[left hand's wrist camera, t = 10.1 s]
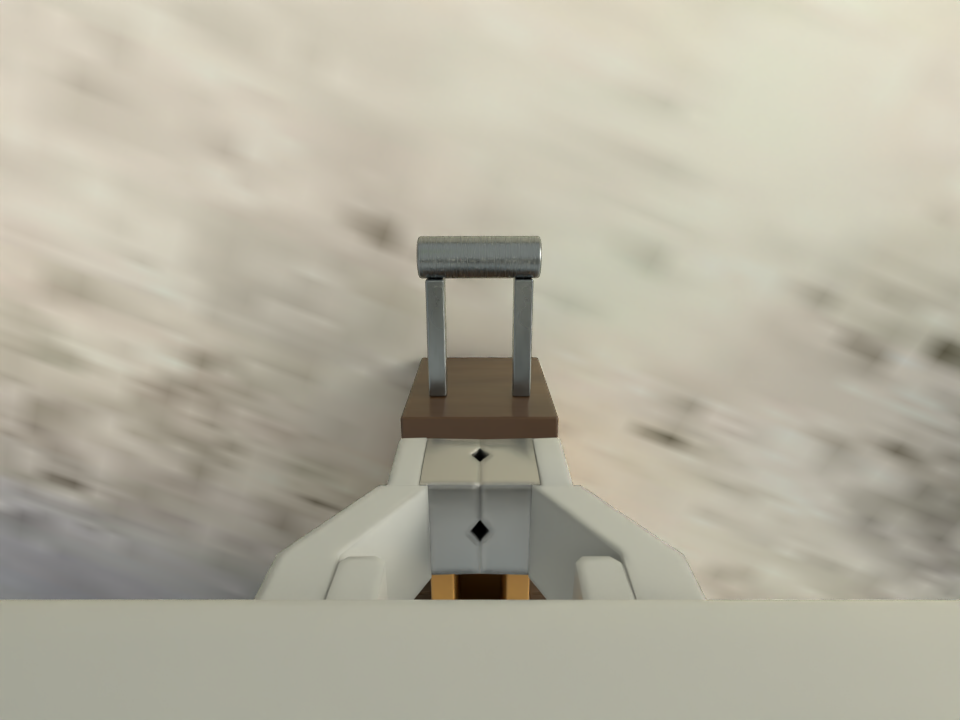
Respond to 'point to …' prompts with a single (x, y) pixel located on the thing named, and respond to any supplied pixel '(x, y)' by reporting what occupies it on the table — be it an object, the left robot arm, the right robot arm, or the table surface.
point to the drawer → (479, 376)
